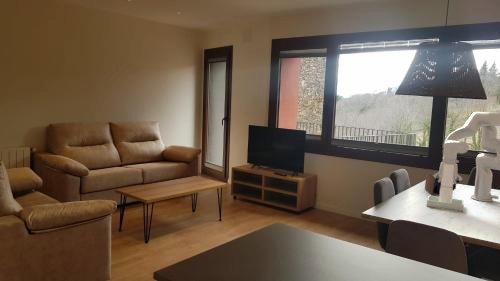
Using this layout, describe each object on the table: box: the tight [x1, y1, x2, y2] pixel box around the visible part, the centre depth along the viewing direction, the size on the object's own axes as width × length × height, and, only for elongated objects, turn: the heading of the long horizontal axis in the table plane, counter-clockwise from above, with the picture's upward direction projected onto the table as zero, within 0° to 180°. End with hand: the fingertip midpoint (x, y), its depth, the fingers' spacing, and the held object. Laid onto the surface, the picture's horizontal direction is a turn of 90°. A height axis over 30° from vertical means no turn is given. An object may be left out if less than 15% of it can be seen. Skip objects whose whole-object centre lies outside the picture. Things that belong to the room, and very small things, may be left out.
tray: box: [426, 194, 465, 213], centre depth 236 cm, size 20×14×4 cm
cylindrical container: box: [438, 164, 454, 203], centre depth 235 cm, size 7×7×25 cm
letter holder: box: [424, 172, 440, 197], centre depth 271 cm, size 10×20×14 cm, turn 169°
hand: (446, 189), depth 235 cm, fingers closed on cylindrical container, 7 cm apart
